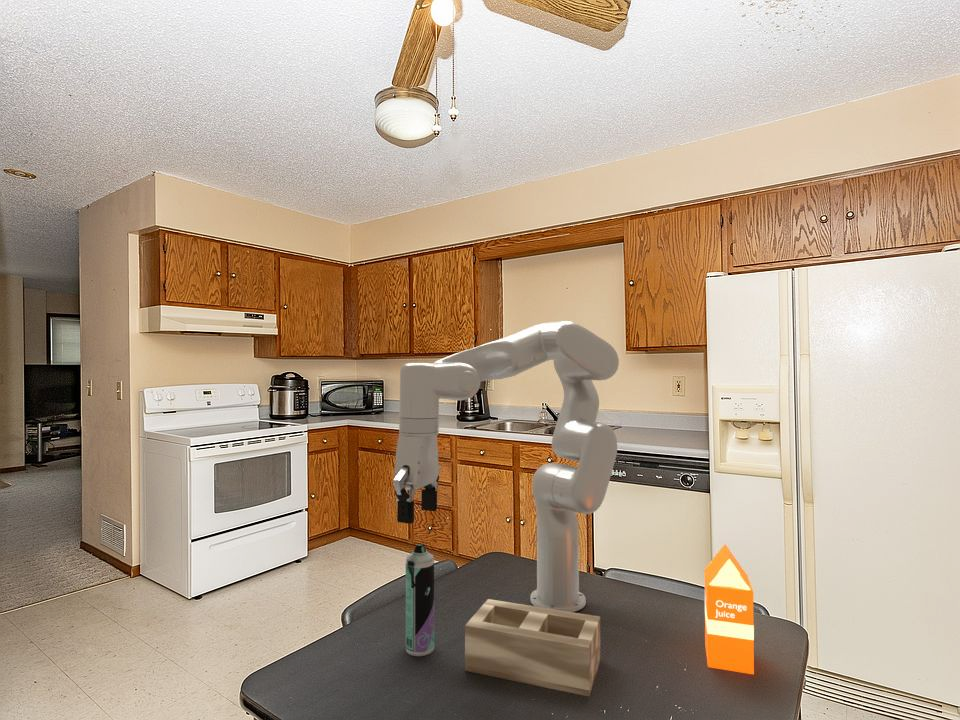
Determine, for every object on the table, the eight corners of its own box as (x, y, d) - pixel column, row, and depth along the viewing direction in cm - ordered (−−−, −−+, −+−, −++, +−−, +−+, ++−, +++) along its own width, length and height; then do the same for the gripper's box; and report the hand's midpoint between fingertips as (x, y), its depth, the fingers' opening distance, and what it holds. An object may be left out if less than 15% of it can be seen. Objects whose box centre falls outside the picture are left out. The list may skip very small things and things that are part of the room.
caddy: (488, 639, 110) (488, 598, 110) (600, 660, 102) (600, 616, 102) (465, 670, 99) (464, 625, 99) (589, 696, 91) (588, 647, 91)
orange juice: (748, 650, 106) (747, 545, 106) (754, 674, 97) (754, 560, 97) (704, 643, 108) (703, 540, 108) (706, 667, 100) (706, 555, 100)
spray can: (429, 657, 103) (429, 549, 103) (401, 654, 104) (401, 548, 105) (437, 643, 109) (437, 540, 109) (411, 640, 110) (410, 539, 110)
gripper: (421, 422, 116) (420, 504, 116) (378, 430, 100) (377, 525, 100) (454, 423, 114) (453, 507, 113) (415, 432, 97) (414, 530, 97)
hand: (417, 516), depth 106 cm, fingers open, 9 cm apart
